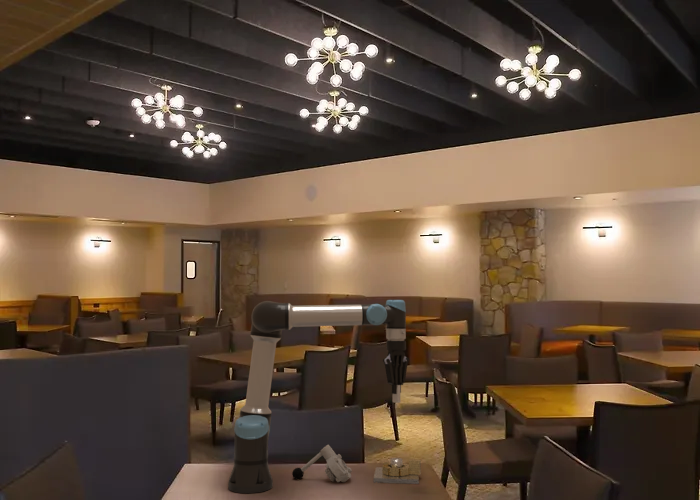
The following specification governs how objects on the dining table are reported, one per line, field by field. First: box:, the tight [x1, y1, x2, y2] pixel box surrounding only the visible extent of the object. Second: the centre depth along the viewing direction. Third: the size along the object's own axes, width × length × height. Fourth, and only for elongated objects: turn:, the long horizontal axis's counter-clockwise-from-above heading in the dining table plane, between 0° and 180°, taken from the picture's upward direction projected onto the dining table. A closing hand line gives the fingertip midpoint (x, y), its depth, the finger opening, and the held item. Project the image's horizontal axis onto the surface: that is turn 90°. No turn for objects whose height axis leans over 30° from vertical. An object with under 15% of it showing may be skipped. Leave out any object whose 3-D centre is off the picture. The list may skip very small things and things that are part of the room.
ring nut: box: [381, 458, 422, 476], centre depth 224 cm, size 14×10×5 cm
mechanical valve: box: [291, 444, 353, 483], centre depth 220 cm, size 10×18×15 cm
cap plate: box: [373, 457, 420, 485], centre depth 224 cm, size 17×16×6 cm
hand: (396, 402), depth 232 cm, fingers closed
